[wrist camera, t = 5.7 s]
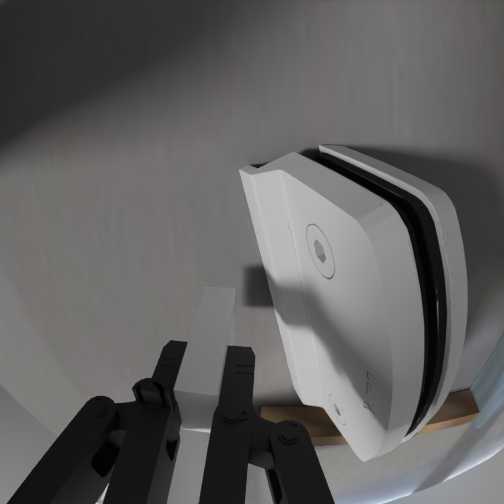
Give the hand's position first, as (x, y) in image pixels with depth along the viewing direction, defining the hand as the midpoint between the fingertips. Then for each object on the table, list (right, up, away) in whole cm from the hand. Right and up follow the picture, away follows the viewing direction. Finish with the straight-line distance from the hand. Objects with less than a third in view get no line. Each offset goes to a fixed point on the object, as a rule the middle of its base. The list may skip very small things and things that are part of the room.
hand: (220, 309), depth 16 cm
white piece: (+7, +1, +2) cm, 7 cm away
